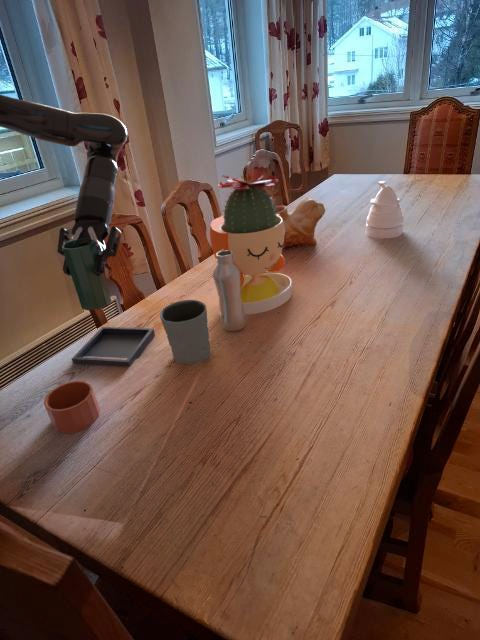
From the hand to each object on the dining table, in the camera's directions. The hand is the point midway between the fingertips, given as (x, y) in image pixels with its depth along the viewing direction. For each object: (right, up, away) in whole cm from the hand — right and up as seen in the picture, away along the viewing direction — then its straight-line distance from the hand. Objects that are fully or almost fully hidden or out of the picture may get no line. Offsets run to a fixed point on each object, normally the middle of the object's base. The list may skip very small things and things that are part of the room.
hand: (82, 274), depth 90 cm
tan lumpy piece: (+52, +19, +68) cm, 87 cm away
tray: (+3, -17, +15) cm, 23 cm away
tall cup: (+1, -6, +5) cm, 8 cm away
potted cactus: (+37, -3, +33) cm, 49 cm away
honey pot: (+86, +22, +67) cm, 111 cm away
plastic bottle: (+32, -12, +18) cm, 38 cm away
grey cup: (+22, -18, +9) cm, 30 cm away
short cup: (+1, -29, -6) cm, 30 cm away
